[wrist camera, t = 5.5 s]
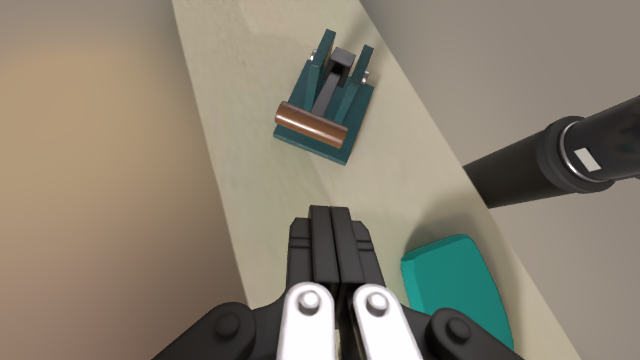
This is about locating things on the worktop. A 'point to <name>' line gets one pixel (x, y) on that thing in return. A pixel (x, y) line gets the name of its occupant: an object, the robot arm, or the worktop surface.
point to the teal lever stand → (343, 105)
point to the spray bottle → (455, 284)
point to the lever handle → (320, 105)
